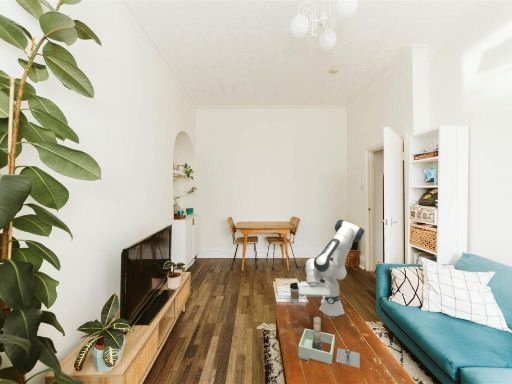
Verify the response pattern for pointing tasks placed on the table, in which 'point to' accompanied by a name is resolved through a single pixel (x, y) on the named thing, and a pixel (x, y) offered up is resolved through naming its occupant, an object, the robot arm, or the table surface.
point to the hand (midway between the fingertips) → (314, 303)
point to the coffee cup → (294, 292)
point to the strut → (317, 334)
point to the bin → (309, 352)
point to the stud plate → (348, 357)
